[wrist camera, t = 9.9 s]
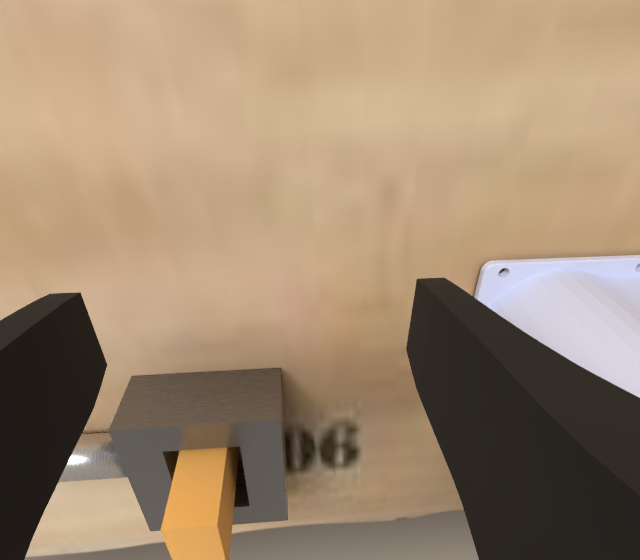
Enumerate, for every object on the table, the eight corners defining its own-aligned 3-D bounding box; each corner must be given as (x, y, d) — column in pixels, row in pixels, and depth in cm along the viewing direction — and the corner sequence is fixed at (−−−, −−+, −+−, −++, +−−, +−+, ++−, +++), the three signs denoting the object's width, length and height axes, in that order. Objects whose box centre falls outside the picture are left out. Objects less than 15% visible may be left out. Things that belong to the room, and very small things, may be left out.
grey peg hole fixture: (280, 367, 23) (280, 419, 20) (286, 466, 27) (287, 520, 24) (-25, 384, 22) (-74, 442, 19) (37, 484, 26) (6, 542, 23)
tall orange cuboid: (232, 400, 24) (217, 525, 18) (240, 444, 26) (227, 568, 20) (190, 403, 24) (160, 530, 18) (201, 446, 26) (177, 573, 20)
